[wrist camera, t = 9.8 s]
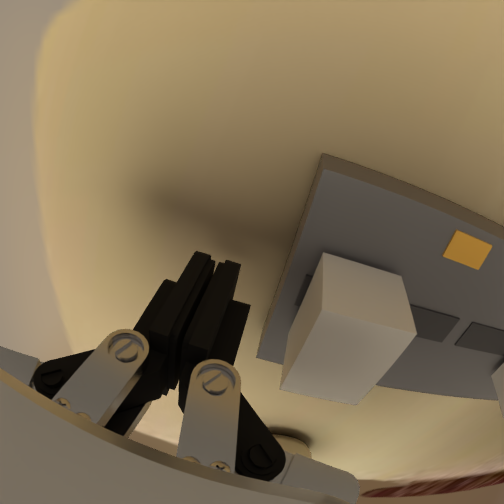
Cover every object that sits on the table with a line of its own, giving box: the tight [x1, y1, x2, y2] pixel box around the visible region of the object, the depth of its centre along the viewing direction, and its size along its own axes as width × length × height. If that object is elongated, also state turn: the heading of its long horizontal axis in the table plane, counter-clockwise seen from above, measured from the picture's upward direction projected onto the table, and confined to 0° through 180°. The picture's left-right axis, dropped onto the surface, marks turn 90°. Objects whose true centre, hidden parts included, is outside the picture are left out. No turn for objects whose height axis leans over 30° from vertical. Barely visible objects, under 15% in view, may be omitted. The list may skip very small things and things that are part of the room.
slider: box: [280, 252, 417, 405], centre depth 11 cm, size 3×4×3 cm
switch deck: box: [256, 154, 504, 400], centre depth 13 cm, size 26×10×2 cm, turn 78°
